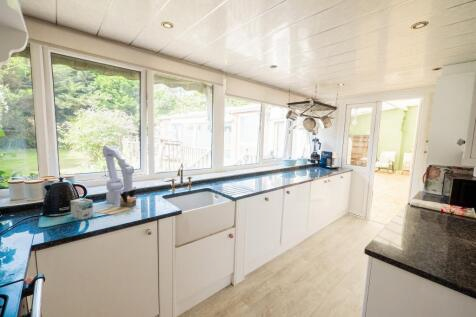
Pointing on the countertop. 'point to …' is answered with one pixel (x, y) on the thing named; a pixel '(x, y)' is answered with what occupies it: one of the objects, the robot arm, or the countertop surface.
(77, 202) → the light bulb box
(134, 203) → the box
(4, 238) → the countertop surface
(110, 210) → the board
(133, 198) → the salmon pink block
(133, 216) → the countertop surface
